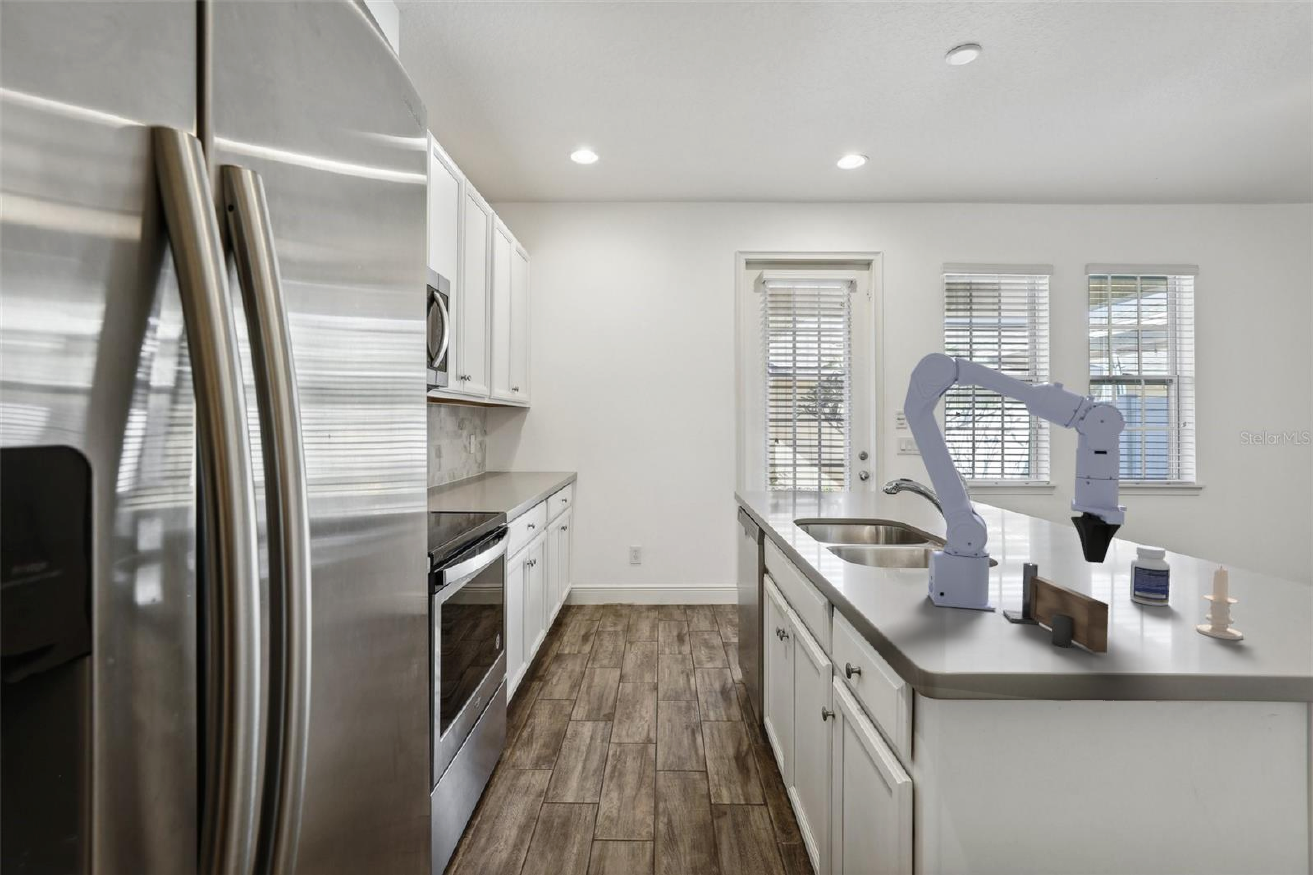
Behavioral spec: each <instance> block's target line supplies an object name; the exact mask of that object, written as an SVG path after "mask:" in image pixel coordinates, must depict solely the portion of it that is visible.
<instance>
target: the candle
mask: <svg viewBox="0 0 1313 875" xmlns="http://www.w3.org/2000/svg"><path fill="white" fill-rule="evenodd" d="M1228 572H1229V571H1228V569H1225V568H1224V569H1222V565H1221V566H1220V568H1219V569H1215V570H1214V573H1213V574H1214V575H1213V585H1212V595H1211V594H1205V595H1203V596H1202V598H1204V599H1206V600H1208V601H1209V602H1210V607H1209V610H1210V611H1209V612H1210V614H1205V620H1207V621H1210V623H1209V624H1198V625H1196V631H1197V632H1198V633H1200V634H1202V635H1205V636H1207V637H1208V636H1209V637H1212V638H1215V639H1216V638H1217V639H1222V640H1223V639H1224V640H1229V641H1230V640H1233V641H1237V640H1242V639H1243V637H1244V636H1243V633H1242V632H1240V631H1238V630H1235V629H1233V628H1230V627H1229V625H1231V624H1234V623H1235V620H1234V619H1233V618H1232V617H1229V616H1230V612H1231V610H1230V607H1231V605H1232V604H1236V603H1237V604H1238V602H1239V601H1238V600H1237V599H1235V598H1232V597H1231V598H1230V597H1229V596H1228V594H1229V592H1228V590H1229V589H1228V588H1229V575H1228V574H1229V573H1228Z"/></svg>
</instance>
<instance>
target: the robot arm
mask: <svg viewBox="0 0 1313 875" xmlns="http://www.w3.org/2000/svg"><path fill="white" fill-rule="evenodd" d="M953 359H954V360H953ZM956 382H957V384H956ZM954 384H956V385H957V386H958V388H961V387H972V386H977V387H981V388H982V389H986V390H988V391H991V392H994V393H996V394H999V395H1003V396H1005V397H1008V398H1010V399H1013V400H1016V401H1019V402H1021V403H1023V404H1024V406H1025V408H1026V411H1027V412H1028V414H1030V415H1032V416H1034V417H1037V418H1040V419H1042V420H1044V421H1047V422H1049V423H1052V424H1055V425H1057V426H1059V427H1061V428H1065V429H1068V430H1071V429H1073V428H1074V429H1075V431H1076V432H1077V433H1078V434H1077V448H1076V449H1075V450H1076V451H1075V479H1074V498H1073V499H1071V501H1070V503H1071V504H1070V510H1071V512H1072V511H1073V512H1078V513H1082V514H1081V515H1080V516H1071V517H1070V520H1071V521H1072V524H1073V525H1074V528H1075V529H1076V531H1077V533H1078V537H1079V539H1080V544H1081V549H1082V553H1083V556H1084V560H1085V562H1088V563H1095V564H1103V563H1104V562H1105V559H1106V557H1107V553H1108V549H1109V547H1110V544H1111V542H1112V541H1113V538H1114V536H1115V534H1116V533H1117V531H1118V530H1119V529H1120V528H1121V527H1122V525H1123V526H1124V525H1125V512H1127V509H1128V507H1127V506H1125V505H1119V496H1120V495H1119V490H1120V486H1119V484H1120V463H1121V462H1120V460H1121V450H1120V449H1119V448H1120V443H1121V442H1120V434H1121V433H1122V432H1123V431H1124V429H1125V427H1126V422H1127V421H1125V420H1124V415H1123V413H1122V412H1121V411H1120V409H1119V408H1118V407H1116V406H1115V405H1112V404H1109V403H1105V402H1102V403H1101V402H1095V399H1096V396H1093V395H1090V394H1087V396H1085V395H1084V394H1083V395H1082V394H1079V393H1076V392H1074V391H1072V390H1069V389H1066V388H1064V383H1062V382H1059V381H1054V382H1053V383H1050V382H1045V381H1044V382H1040V383H1038V384H1035V385H1032V384H1029V383H1027V382H1025V381H1022V380H1020V379H1018V378H1015V377H1013V376H1010V375H1008V374H1006V373H1003V372H1001V371H999V370H995V369H993V368H991V367H988V366H986V365H983V364H982V363H980V362H977V361H973V360H968V359H966V358H965V359H964V358H961V357H957V356H954V357H953V358H952V357H951V356H949V355H948V354H946V353H943V352H932V353H928V354H927V355H925V356H923V357H922V358H921V359H920V360H919V361H918V363H917V365H916V366H915V368H914V369H913V370H912V372H911V374H910V379H909V384H908V389H907V393H906V395H905V400H904V404H903V414H904V416H905V419H906V421H907V424H908V426H909V428H910V432H911V434H912V437H913V439H914V441H915V444H916V445H917V446H916V447H917V449H918V451H919V453H920V456H921V458H922V462H923V464H924V466H925V470H926V472H927V474H928V476H929V478H930V481H931V483H932V487H933V489H934V492H935V494H936V496H937V499H938V501H939V504H940V509H941V511H942V515H943V518H944V520H945V525H946V530H945V539H946V542H947V544H945V545H944V546H943V550H931V551H930V553H929V557H928V558H929V559H928V560H929V561H928V590H927V594H928V596H929V597H930V599H931V601H932V602H933V604H934V605H935V606H938V607H949V608H951V607H952V608H964V609H974V610H975V609H976V610H987V611H996V610H997V608H996V606H995V605H994V604H993V603H992V602H991V601H990V599H989V591H990V590H989V589H990V588H989V587H990V582H989V581H990V552H991V551H990V550H989V549H987V548H986V545H987V543H988V538H989V536H988V532H987V531H988V528H987V527H988V526H987V523H986V521H985V520H984V518H983V517H982V515H981V516H980V515H979V514H978V513H977V512H976V510H975V509H974V507H973V505H972V503H971V501H970V498H969V496H968V494H967V492H966V489H965V487H964V484H963V482H962V480H961V477H960V475H959V472H958V470H957V467H956V464H955V462H954V460H953V457H952V455H951V452H950V450H949V447H948V445H947V442H946V441H945V438H944V436H943V433H942V431H941V428H940V426H939V423H938V420H937V418H936V416H935V414H934V412H935V409H936V408H937V406H938V404H939V402H940V400H941V398H942V396H943V395H944V394H945V393H946V392H948V391H949V390H950V389H951V388H952V387H953V386H954Z"/></svg>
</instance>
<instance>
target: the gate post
mask: <svg viewBox="0 0 1313 875" xmlns="http://www.w3.org/2000/svg"><path fill="white" fill-rule="evenodd" d="M1038 572H1039V564H1037V563H1033V562H1023V566H1022V597H1021V598H1022V602H1021V603H1022V605H1021V606H1022V607H1021V610H1006V609H1003V610H1002V613H1003V615H1004V617H1006V618H1007V619H1008V620H1009V622H1011V623H1017V624H1018V623H1019V624H1031V625H1040V622H1038V621H1036V620H1034V619H1032V618H1030V605H1031V576H1039V575H1038Z"/></svg>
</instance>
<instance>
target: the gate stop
mask: <svg viewBox="0 0 1313 875" xmlns="http://www.w3.org/2000/svg"><path fill="white" fill-rule="evenodd" d="M1072 619H1073V618H1072V617H1070V616H1067V615H1062V614H1053V615H1052V629H1051V644H1052V645H1054V646H1057V647H1061V648H1071V647H1072V646H1073V645H1072V644H1073V643H1072V642H1073V640H1072Z"/></svg>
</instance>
